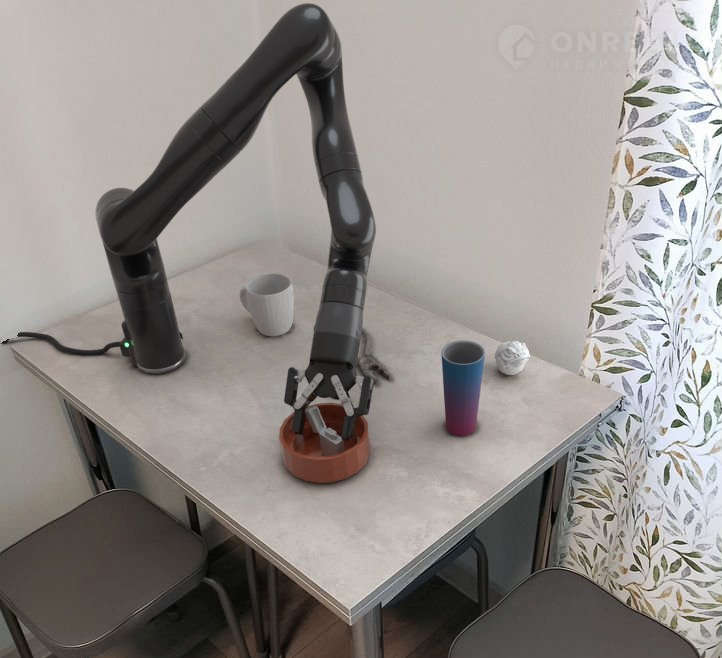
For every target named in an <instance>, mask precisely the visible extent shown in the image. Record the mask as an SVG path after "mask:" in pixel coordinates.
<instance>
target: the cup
mask: <svg viewBox="0 0 722 658" xmlns="http://www.w3.org/2000/svg"><path fill="white" fill-rule="evenodd" d="M440 354H441V372H442V383H443V384H442V386H443V397H444V398H443V402H444V403H443V404H444V415H445V428H446V430H447V432H449V434H451V435H454V436H457V437H465V436H469V435H471V434H472V433H474V432H475V431H476V428H477V422H478V414H479V405H480V397H481V390H482V380H483V373H484V366H485V357H486V350H485V348H484V347H483V346H482V345H481V344H480V343H478V342H475V341H473V340H463V339H462V340H454V341H451V342H449V343H447V344H445V345H444V346H443V347H442V348H441V351H440Z"/></svg>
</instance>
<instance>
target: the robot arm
mask: <svg viewBox="0 0 722 658" xmlns="http://www.w3.org/2000/svg"><path fill="white" fill-rule="evenodd" d="M343 66H344V65H343V51H342V42H341V38H340V36H339V34H338V32H337V30H336V28H335V26H334V24H333V22H332V20H331V19H330V17H329V15H328V14H327V13H326V11H325V10H324V9H323V8H322V7H321V6H320V5H318V4H315V3H311V2H304V3H300V4H297V5H295V6H293V7H291V8H289V10H287V11H286V12H285V13H284V14H283V15H282V16H281V17H280V18H279V19H278V20H277V22H275V24H274V25H273V26H272V28H270V30H269V31H268V32H267V34H266V35H265V36H264V37H263V39H262V40H261V41H260V42H259V44H258V45H257V47H256V48H254V50H253V51H252V53H251V54H250V55H249V56H248V58H246V60H245V61H244V62H243V63H242V64H241V65H240V66H239V67H238V68H237V69H236V70H235V72H233V73H232V74H231V75H230V76H229V78H227V79H226V81H224V82H223V83H222V85H220V87H219V88H218V89H217V90H216V91H215V92H214V93H213V94H212V95H211V96H210V97H209V98H208V99H207V100H205V102H203V103H202V104H201V105H200V106H199V107H198V108H197V109H196V111H194V112H193V114H191V115H190V116H189V117H188V118H187V119H186V120H185V122H184V123H183V124H182V126H181V127H180V128H179V129H178V130H177V132H176V133H175V134H174V135H173V138H172V139H171V141H170V143H169V144H168V146H167V147H166V149H165V151H164V153H163V155H162V156H161V158H160V160H159V162H158V163H157V165H156V167H155V168H154V170H153V171H152V172H151V174H150V175H148V177H147V178H146V179H145V180H144V181H143V182H142V183H141V184H140V185H139V186H138V187H137V188H135V189H134V190H133V189H131V188H127V187H116V188H112V189H109V190H108V191H106V192H105V193H103V194H102V195H101V197H100V198H99V200H98V201H97V204H96V206H95V212H94V213H95V221H96V224H97V228H98V233H99V236H100V239H101V241H102V245H103V248H104V249H103V250H104V252H105V256H106V260H107V264H108V268H109V271H110V274H111V279H112V281H113V285H114V288H115V291H116V295H117V298H118V301H119V305H120V309H121V312H122V315H123V319H124V320H123V321H122V323H121V325H120V326H121V330H122V333H123V335H124V337H123V338H122V339H121V340H120V341H113V342H110V343H107V344H105V345H104V347H103V348H97V349H78V348H73V347H68V346H65V345H63V344H62V343H60V342H59V341H58V340H57V339H56V338H54V337H53V336H51V335H50V334H46V333H41V332H40V333H39V332H32V331H19V332H20V333H18V335H17V336H18V337H17V338H33V339H42V340H46V341H49V342H51V344H52V345H53V346H55V348H56V349H58V350H60V351H62V352H65V353H68V354H73V355H80V356H97V355H98V356H99V355H103V354H106V353H108V352H109V350H110V349H113V348H119V349H120V353H121V355H122V357H127V358H130V360H131V364H132V367H133V368H137V369H138V370H139V371H141V372H142V373H145V374H149V375H162V374H166V373H169V372H172V371H174V370H176V369H178V368H179V367H181V366H182V365H183V364H184V363H185V361H186V357H187V356H186V351H185V349H184V345H183V341H184V336H183V333H182V332H181V331H180V327H179V323H178V320H177V315H176V311H175V305H174V302H173V298H172V293H171V289H170V286H169V281H168V276H167V273H166V269H165V263H164V260H163V257H162V253H161V250H160V246H159V243H158V238H159V236H160V235H161V234H162V233H163V231H164V230H166V227H167V226H168V225H169V224H170V223H171V221H172V220H173V219H174V218H175V217H176V216H177V214H179V212H180V211H181V210H182V209H183V208H184V207H185V206H186V205H187V204H188V203H189V202H190V201H191V200H192V199H193V198H194V197H195V196H196V195H197V194H198V193H199V192H200V191H202V190H203V189H204V188H205V187H206V186H207V185H208V184H209V183H210V182H211V181H212V179H214V178H215V177H217V175H218V174H219V173H220V172H221V171H223V170H224V168H226V167H227V166H228V165H229V164H230V163H231V162H232V161H233V160H234V159H235V158H236V157H237V156H238V155H239V154H241V152H242V151H243V150H244V149H245V148H246V147H247V146H248V145H249V143H250V142H251V140H252V138H253V137H254V135H255V134H256V131H257V130H258V128H259V126H260V124H261V122H262V119H263V117H264V115H265V112H266V111H267V109H268V106H269V105H270V103H271V102H272V100H273V99H274V98H275V96H276V95H277V93H278V92H279V91H280V90H281V89H282V88H283V87H284V86H285V85H286V84H287V83H288V82H290V80H291V79H292V78H293V77H294V76H297V79H298V81H299V84H300V86H301V88H302V91H303V94H304V97H305V100H306V103H307V106H308V111H309V116H310V125H311V126H310V127H311V147H312V157H313V162H314V167H315V170H316V176H317V179H318V180H317V181H318V183H319V188H320V191H321V194H322V196H323V199H324V200H325V201H326V202H325V203H326V207H327V212H328V217H329V223H330V229H331V232H330V242H329V251H328V252H329V253H328V259H327V271H326V274H325V276H324V278H323V279H324V280H323V283H322V289H321V296H320V302H319V307H318V311H317V312H316V313H317V314H316V318H315V324H314V325H313V335H312V342H311V348H310V353H309V354H310V355H309V360H308V361H309V363H308V366H307V368H306V369H300V368H295V367H292V366H291V367H289V368H288V369H287V376H286V383H285V391H284V397H283V402H284V404H286V405H288V406H290V407H291V408H293V412H294V417H293V423H292V428H293V430H295V434H298V435H302V434H303V429H304V423H305V417H306V413H305V412H304V411H305V409H306V408H307V407H308V406H310V404H311V403H313V402H314V401H315V400H316V399H317V398H320V399H327V398H330V399H332V400H337V401H340V404H342V405H343V407H344V409H345V411H346V414H347V416H345V418H344V424H343V431H342V437H341V439H342V440H344V441H349V438H352V437H353V434H354V428H355V422H356V418H357V417H359V416H368V415H369V413H370V409H371V401H372V396H373V391H374V385H375V383H374V380H373V379H372V378H370V377H369V376H365V375H364V376H359V375H358V374H357V371H356V370H357V366H358V365H357V359H358V357H359V351H360V345H361V340H362V339H361V338H362V334H363V333H362V328H363V323H364V309H365V303H366V297H367V296H366V295H367V287H368V286H367V285H368V282H367V276H368V271H369V267H370V262H371V257H372V251H373V246H374V243H375V239H376V235H377V225H376V220H375V216H374V212H373V208H372V205H371V202H370V199H369V195H368V193H367V190H366V188H365V185H364V178H363V174H362V168H361V164H360V159H359V155H358V151H357V147H356V143H355V139H354V134H353V130H352V127H351V122H350V118H349V113H348V108H347V103H346V95H345V86H344V84H345V83H344V69H343V68H344V67H343ZM13 339H14V338H12V339H7V340H6V341H3V342H2V343H0V345H5V344H7V343H8V342H9V341H11V340H13ZM304 378H305V379H306V381H307V384H308V385H307V386H306V388H305V389H304V390H303V391H302V392H301V395H300V396H299V397H298V392H299V391H298V390H299V384H300V383H302V381H303V379H304ZM356 384H357V386H358V389H359V390H360V396H359V402H358V406H357V407H355V404H354V401H353V399H352V397H351V394H350V390H351V389H352V388H353V387H354V386H355V385H356ZM297 398H298V399H297Z"/></svg>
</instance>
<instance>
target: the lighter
mask: <svg viewBox="0 0 722 658" xmlns="http://www.w3.org/2000/svg"><path fill="white" fill-rule="evenodd" d="M309 406H310V405H309ZM305 413H306V415H307V418H308V420H309V422H310V425H311V427H312V429H313V432H315V433H319V435H320V444H321V452H322V455H324V456H325V457H327V456H333V455H337V454H340V453H344V452H345V450H344V440H342V439H341V437H340V436H338V435H337V432H336V431H334V430H333V429H331V428H328V429H326V426H325V423H324V421H323V419H322V416H321V414H320V411H319V409H318V407H317V406H310V407H309V408H307V409H306V410H305Z"/></svg>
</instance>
